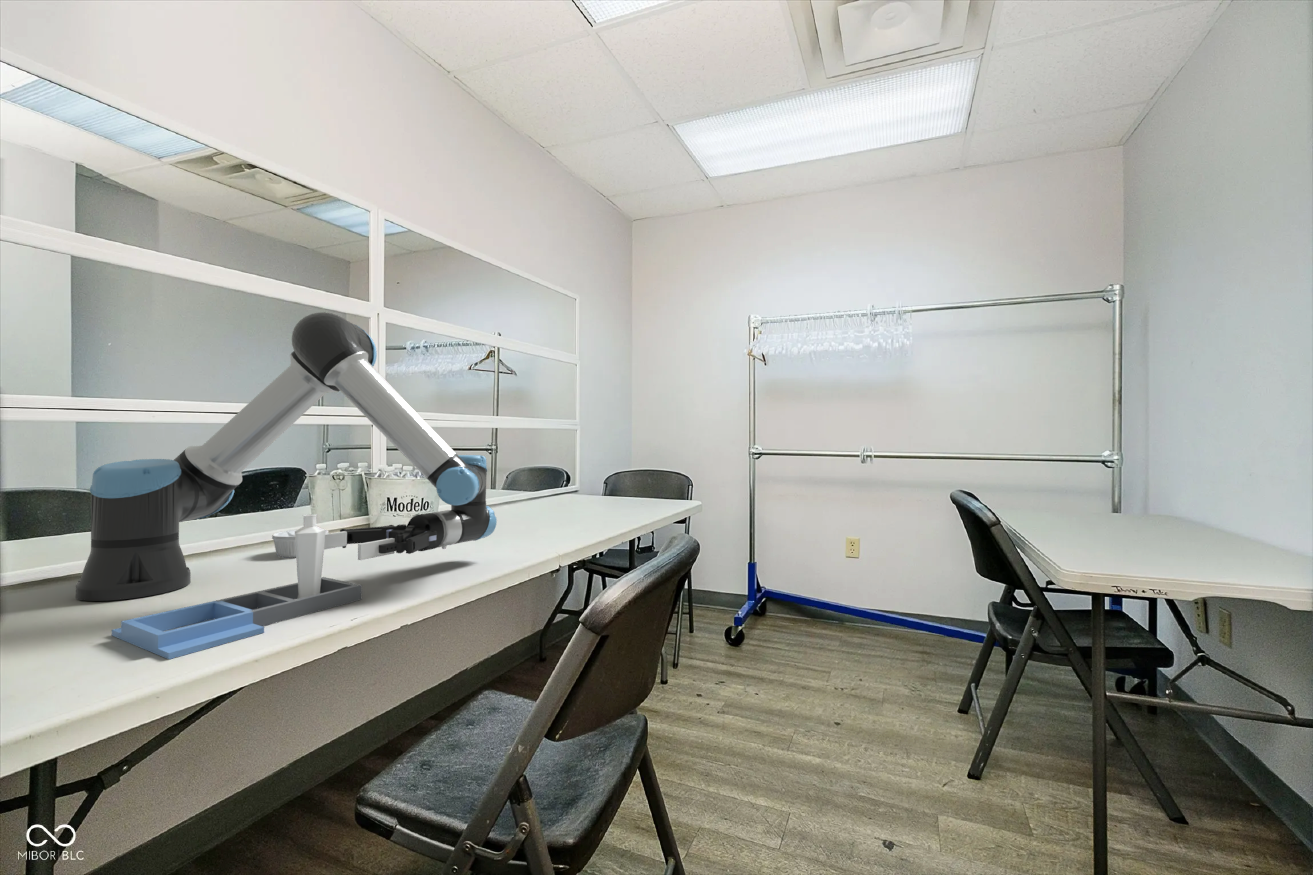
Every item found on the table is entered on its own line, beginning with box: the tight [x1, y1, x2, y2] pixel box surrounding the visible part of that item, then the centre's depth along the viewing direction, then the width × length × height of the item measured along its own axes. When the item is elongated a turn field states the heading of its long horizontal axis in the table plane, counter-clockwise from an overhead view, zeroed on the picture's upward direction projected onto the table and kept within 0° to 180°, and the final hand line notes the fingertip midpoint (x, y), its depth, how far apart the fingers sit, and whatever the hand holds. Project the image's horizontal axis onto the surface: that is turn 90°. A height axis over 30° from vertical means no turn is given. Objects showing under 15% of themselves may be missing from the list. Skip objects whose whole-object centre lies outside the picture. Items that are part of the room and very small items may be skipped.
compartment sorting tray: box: [111, 576, 363, 660], centre depth 86 cm, size 28×17×2 cm, turn 152°
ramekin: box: [271, 528, 329, 559], centre depth 131 cm, size 11×11×5 cm
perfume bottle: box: [295, 513, 327, 599], centre depth 93 cm, size 5×4×15 cm
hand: (334, 547), depth 96 cm, fingers open, 13 cm apart
